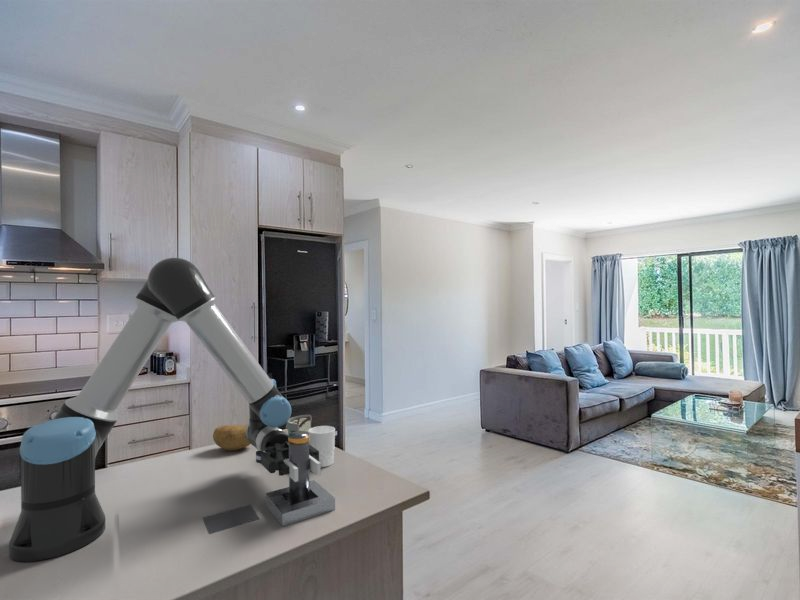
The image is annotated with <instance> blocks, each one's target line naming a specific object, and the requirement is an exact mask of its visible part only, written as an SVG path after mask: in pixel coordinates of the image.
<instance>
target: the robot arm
mask: <svg viewBox="0 0 800 600" xmlns="http://www.w3.org/2000/svg"><path fill="white" fill-rule="evenodd" d="M134 300H135V303H136V307H135V310H134V311H133V312H132V314H131V316H130V318H129V319H128V321H127V322H126V323H125V324H124V327H123V328H122V329H121V331H120V332H119V334H118V335H117V337H116V338H115V339H114V342H113V343H112V344H111V346H110V347H109V348H108V350H107V352H106V353H105V354H104V356H103V358H102V359H101V360H100V362H99V364H98V365H97V366H96V368H95V370H94V371H93V372H92V374H91V376H90V377H89V378H88V380H87V381H86V382H85V384H84V385H83V387H82V389H81V390H80V392H79V393H78V394H77V396H73V397H70V398H68V399H66V400H65V401H64V402H63V404H62V406H61V407H60V408H59V410H58V412H57V413H56V414H55V416H54V417H53V419H50V420H47V421H43V422H42V423H39V424H35V425H33V426H31V427H29V428H28V429H27V430H26V431H25V432H24V433H23V434H22V437H21V441H20V446H19V456H20V496H21V497H20V500H21V501H20V503H21V506H20V507H21V508H20V513H19V515H18V518H17V521H16V524H15V527H14V528H13V529H14V530H13V531H12V534H11V536H10V539H9V542H8V556H9V558H10V559H11V560H13V561H16V562H22V563H23V562H29V563H30V562H37V561H38V562H39V561H43V560H48V559H52V558H56V557H60V556H64V555H66V554H68V553H71V552H73V551H76V550H78V549H80V548H83V547H85V546H88V545H89V544H90V543H92V542H93V541H95V540H96V539H97V538H99V537H100V536H101V535H102V534H103V533H104V531H105V530H106V515H105V513H104V510H103V508H102V505H101V503H100V501H99V499H98V496H97V494H96V457H97V455H98V454H99V453H98V452H99V451H100V449H101V447H102V446H103V443H105V441H106V439H107V437H108V436H109V435H110V433H111V431H112V430H113V428H114V426H115V424H117V421H118V420H119V415H118V413H117V409H118V408H119V406H120V404H121V403H122V401H123V400H124V398H125V397H126V395H127V393H128V392H129V390H130V389H131V387H132V386H133V384H134V382H135V381H136V379H137V378H138V376H139V374H140V373H141V372H142V370H143V368H144V366H145V365H146V364H147V362H148V360H149V359H150V357H151V356H152V354H153V352H154V351H155V349H156V348H157V346H158V345H159V343H160V342H161V340H162V338H163V337H164V335H165V334H166V333H167V331H168V329H169V327H170V326H171V325H172V324H173V323H177V322H180V321H181V322H184V323H186V324H187V326H188V327H189V329H190V330H191V331H192V332H193V334H194V336H196V338H197V339H198V340H199V341H200V343H201V344H202V345H203V346H204V348H205V349H206V350H207V352H208V353H209V354H210V355H211V357H212V358H213V359H214V361H215V362H216V363H217V365H218V366H219V367H220V368H221V370H223V372H224V373H225V375H226V376H227V378H228V379H229V380H230V381H231V382H232V384H233V385H234V387H235V388H236V389H237V390H238V392H239V393H240V395H241V396H242V397H243V398H244V400H245V401H246V402H247V403H248V410H249V411H248V413H249V416H248V417H249V418H248V425H247V426H248V427H247V430H246V436H247V438H248V440H249V442H250V443H251V444H250V445H251V446H253V447H254V448H255V449H256V450H257V451H255V462H256V463H257V464H261V465H262V467H264V468H265V469H266V470H267V472H269V474H275V473H276V471H277V472H278V476H280V477H281V476H286V475H287V476H288V478H289V477H290V478H291V479H292V480H293V481H294V482H297V481H298V468H297V467H296V466H295V465H294V464H292V463H291V462H290V461H289V443H288V436H289V435H288V433H286V432H284V431H283V430H282V429H281V428H280V427H282V426H284V425H286V423H287V421H288V420H289V419H290V418H291V415H292V406H291V404H290V402H289V400H288V399H287V398H286V397H284V396H283V395H282V393H281V392H280V391H279V389H278V388H277V381H276V379H274V378H270V377H269V375H268V374H267V373H266V371H265V370H264V368H262V366H261V364H260V363H259V362H258V361H257V359H256V357H254V355H253V354H252V352H251V351H250V350H249V348H248V347H247V346H246V344H245V342H244V341H243V340H242V338H240V336H239V335H238V333H237V332H236V331H235V329H234V328H233V326H232V325H231V324H230V322H229V321H228V320H227V318H226V317H225V316H224V314H223V313H222V312H221V310H220V308H218V306H217V305H216V303H215V302H216V296H215V295H214V293H213V292H212V290H211V289H210V288H209V286H208V284H207V283H206V281H205V279H204V277H203V275H202V274H201V272H200V270H199V268H198V267H196V265H195V264H194V263H192V262H190V261H189V260H187V259H184V258H182V257H181V258H180V257H168V258H165V259H162V260H160V261H159V262H157V263H155V264H154V266H153V267H152V268H151V269H150V271H149V273H148V276H147V280H146V281H145V283H144V284H143V286H142V288H141V289H140V290H139V292H138V293H137V295H136V296H135V297H134ZM321 469H322V467H321V463H320V462H319V451H318V450H317V449H315V448H314V447H312V446H311V445H310V444H309V471H311V473H313V474H314V475H316V476H317V477H319V476H321V474H322V472H321Z"/></svg>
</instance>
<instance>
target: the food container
mask: <svg viewBox="0 0 800 600" xmlns="http://www.w3.org/2000/svg"><path fill="white" fill-rule="evenodd" d="M312 421H313V420H312V415H311V414H303V415H302V414H301V415H297V416H293V417H290V418H289V420H288V421H287V422H286V423H285V429H286V430H287V431H288V432H287V434H288V435H289V434H290V433H292V432H296V431H307V432H308V430H309V429H310V428H312Z"/></svg>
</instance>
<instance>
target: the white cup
mask: <svg viewBox="0 0 800 600" xmlns="http://www.w3.org/2000/svg"><path fill="white" fill-rule="evenodd" d="M308 432H309V444H310V445H311V446H312V447H314V448H315V449H317V450H318V451H319V462H320V463H321V468H325V467H329V466H332V465H333V464H334V461H335V445H336V440H335V439H336V427H334V426H331V425H320V426H319V425H318V426H314V427H311V428H310V429H309V430H308Z"/></svg>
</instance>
